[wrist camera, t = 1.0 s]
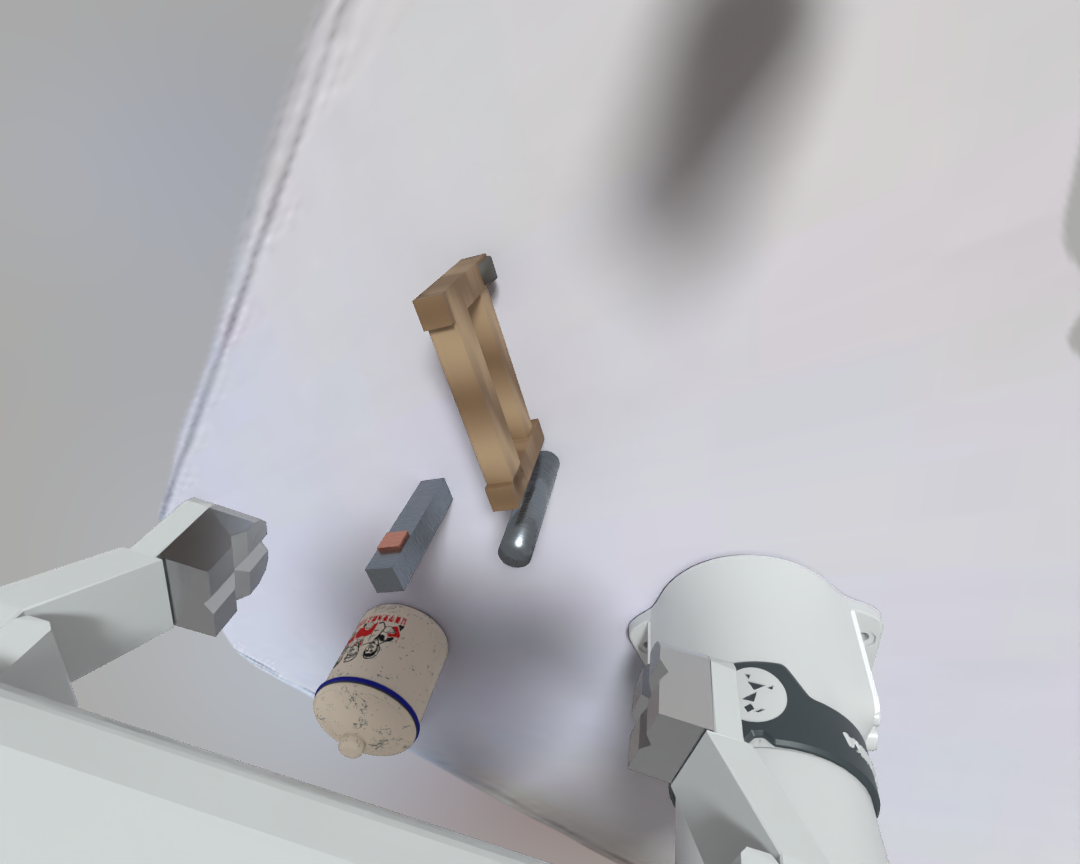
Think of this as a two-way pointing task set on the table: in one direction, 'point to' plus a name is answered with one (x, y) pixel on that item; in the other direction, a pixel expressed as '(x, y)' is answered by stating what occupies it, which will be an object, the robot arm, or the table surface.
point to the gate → (482, 377)
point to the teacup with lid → (382, 682)
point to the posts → (429, 508)
